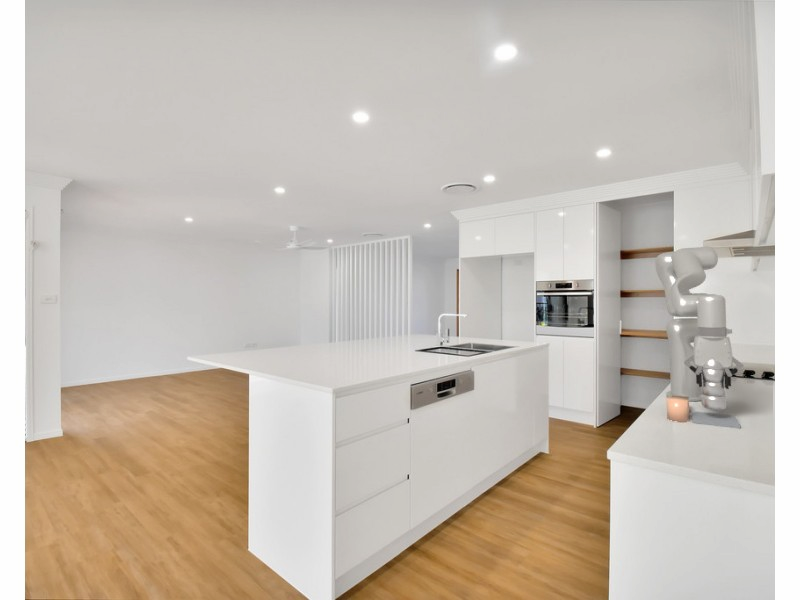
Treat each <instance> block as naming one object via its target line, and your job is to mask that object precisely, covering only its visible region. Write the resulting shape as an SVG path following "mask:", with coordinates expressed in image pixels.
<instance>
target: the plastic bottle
mask: <svg viewBox="0 0 800 600" xmlns="http://www.w3.org/2000/svg"><path fill="white" fill-rule="evenodd" d="M725 374H726V372H725V370H724V367H723V366H722V364H721V363H719V362H718V361H715V360H709V361H707V362H706V363H705V364H704V365H703V367H702V370H701V375H702V393H701V394H702V399H701V401H700V402H701V404H702V406H703V408H704V409H706V410H711V411H724V410H725V409H726V408H727V404H728V403H727V402H728V401H727V397H726V394H725V393H726V392H725V377H724V376H725Z"/></svg>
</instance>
